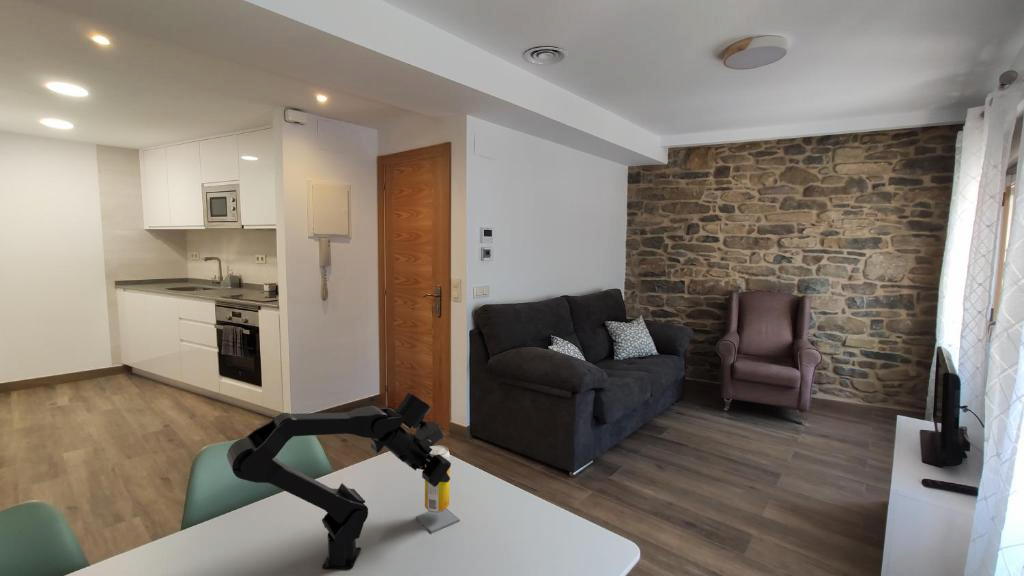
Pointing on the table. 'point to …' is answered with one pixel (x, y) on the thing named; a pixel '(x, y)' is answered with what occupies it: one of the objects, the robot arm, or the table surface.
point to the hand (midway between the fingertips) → (442, 475)
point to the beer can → (439, 494)
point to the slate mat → (437, 520)
